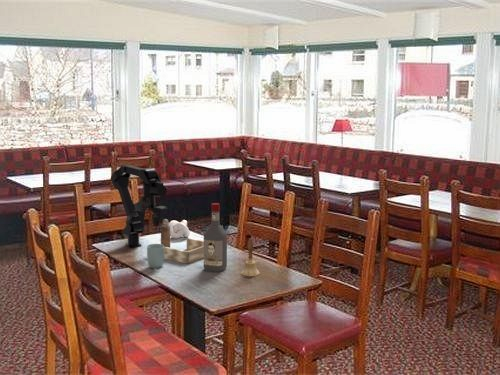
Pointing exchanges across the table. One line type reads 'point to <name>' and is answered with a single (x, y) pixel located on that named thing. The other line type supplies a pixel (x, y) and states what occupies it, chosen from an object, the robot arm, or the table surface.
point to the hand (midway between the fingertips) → (149, 225)
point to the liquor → (215, 243)
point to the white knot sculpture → (178, 229)
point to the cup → (155, 255)
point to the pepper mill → (165, 233)
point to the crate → (186, 252)
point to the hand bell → (250, 262)
